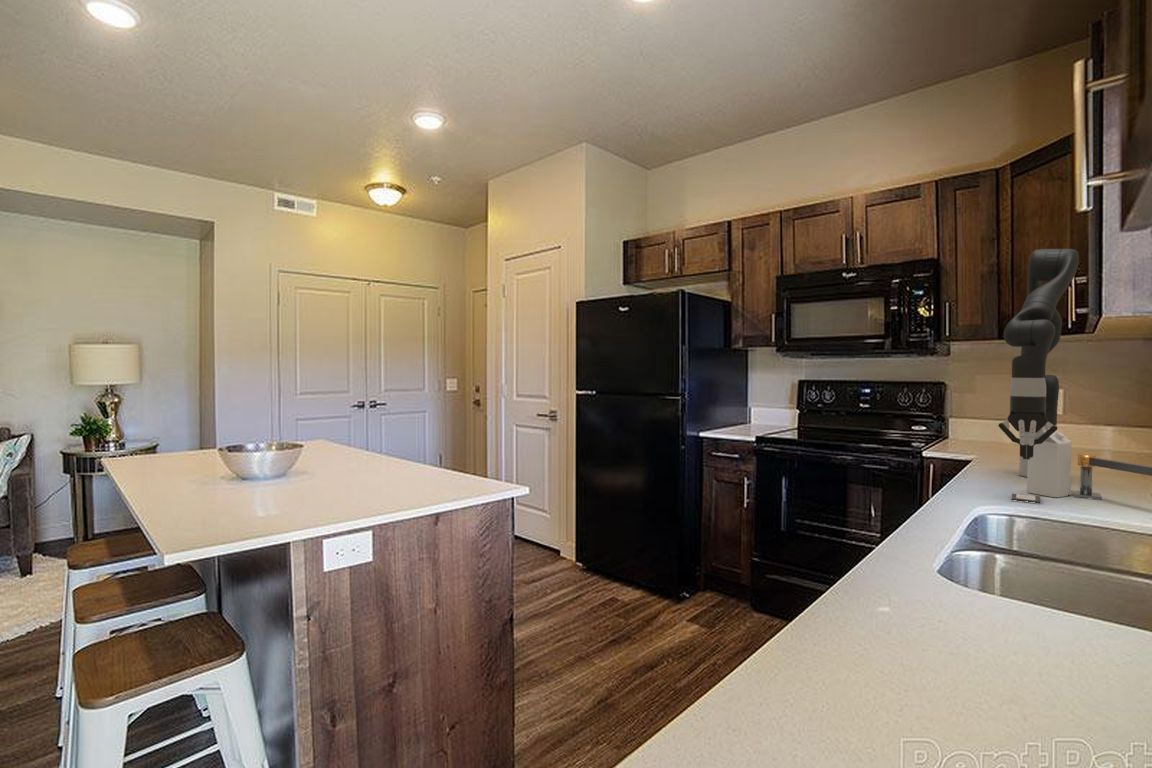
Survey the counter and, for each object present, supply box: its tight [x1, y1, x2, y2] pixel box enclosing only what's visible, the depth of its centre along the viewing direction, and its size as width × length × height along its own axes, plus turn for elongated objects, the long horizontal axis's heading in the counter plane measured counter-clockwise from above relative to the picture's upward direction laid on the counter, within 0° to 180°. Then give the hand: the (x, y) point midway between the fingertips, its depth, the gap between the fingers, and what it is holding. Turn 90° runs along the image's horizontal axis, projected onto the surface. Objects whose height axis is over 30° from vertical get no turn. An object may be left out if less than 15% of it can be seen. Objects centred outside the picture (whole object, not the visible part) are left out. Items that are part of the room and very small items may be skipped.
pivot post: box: [1070, 466, 1103, 501], centre depth 155 cm, size 6×6×8 cm
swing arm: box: [1077, 453, 1152, 477], centre depth 144 cm, size 26×4×3 cm, turn 4°
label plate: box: [1011, 492, 1041, 504], centre depth 152 cm, size 8×6×1 cm
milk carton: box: [1026, 427, 1072, 498], centre depth 158 cm, size 7×7×19 cm
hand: (1026, 458), depth 151 cm, fingers closed
